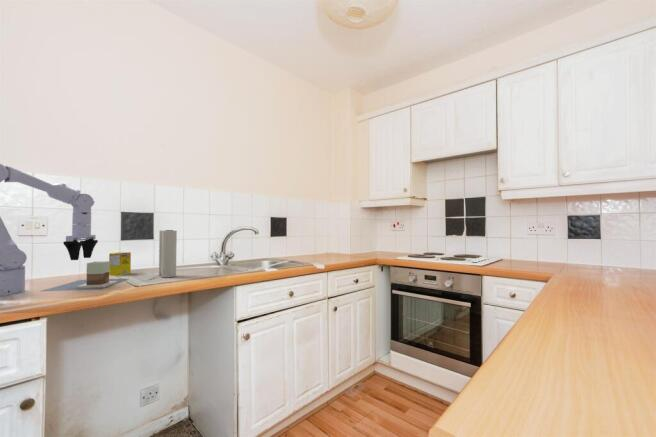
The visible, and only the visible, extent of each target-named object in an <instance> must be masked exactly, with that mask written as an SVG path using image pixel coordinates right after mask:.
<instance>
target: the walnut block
mask: <svg viewBox="0 0 656 437" xmlns="http://www.w3.org/2000/svg"><path fill="white" fill-rule="evenodd" d="M109 279H110V275H109V272H106V273H103V274H87V273H86V280H87V283H86V285H102V284H105V283H108V282H109Z"/></svg>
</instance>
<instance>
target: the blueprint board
mask: <svg viewBox="0 0 656 437" xmlns="http://www.w3.org/2000/svg"><path fill="white" fill-rule="evenodd" d="M128 280H129V278H109V282H108V283H105V284H102V285H86V283H87V279H78V280H75V281H72V282H67V283H64V284H61V285H57V286H53V287H49V288H47V289H44V290H41V292H57V291H58V292H60V291H89V290H90V291H91V290H105V289H107V288H109V287H112V286H115V285H117V284H119V283H122V282H125V281H128Z"/></svg>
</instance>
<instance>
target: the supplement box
mask: <svg viewBox="0 0 656 437" xmlns="http://www.w3.org/2000/svg"><path fill="white" fill-rule="evenodd" d="M131 253H132V252H129V251H128V252H125V251H124V252H123V251H121V252H120V251H119V252H112V253H111V252H110V253H109V255H108V257H109V259H108V261H109V276H124V275H130V274H131V272H132V271H131V269H132V268H131V265H132V261H131V260H132V258H131V256H132V254H131Z"/></svg>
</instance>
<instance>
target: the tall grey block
mask: <svg viewBox="0 0 656 437" xmlns="http://www.w3.org/2000/svg"><path fill="white" fill-rule="evenodd" d="M177 233H178V231H177V230H173V229H165V230H159V239H158V240H159V241H158V242H159V244H158V246H159V247H158V248H159V250H158V254H159V255H158V263H159V264H158V276H159V277H161V278H173V277H176V276H177V241H178V240H177V238H178V237H177V236H178V234H177Z"/></svg>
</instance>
